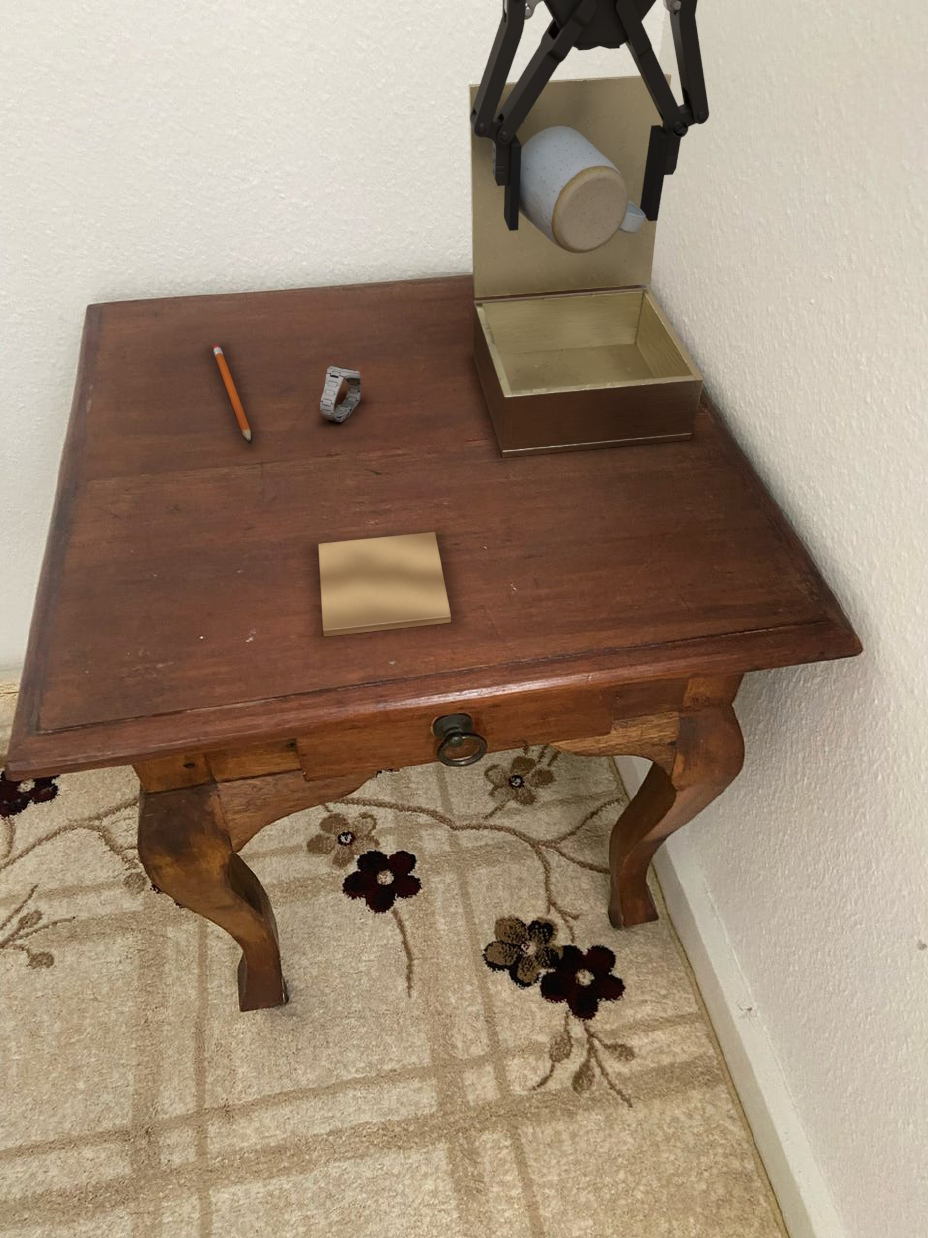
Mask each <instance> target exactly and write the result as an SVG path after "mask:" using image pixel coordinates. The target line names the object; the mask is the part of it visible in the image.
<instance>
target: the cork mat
mask: <svg viewBox="0 0 928 1238" xmlns="http://www.w3.org/2000/svg"><path fill="white" fill-rule="evenodd" d="M317 546H318V561H319V562H318V565H319V581H320V583H319V584H320V599H321V601H320V602H321V619H322V633H323V636H324V637H325V638H326V637H327V638H328V637H335V636H345V635H353V634H361V633H370V632H380V631H389V630H397V629H406V628H415V627H423V626H433V625H442V624H450V623H452V615H451V614H452V613H451V608H450V604H449V603H450V602H449V598H448V592H447V587H446V582H445V578H444V577H445V576H444V571H443V567H442V561H441V556H440V550H439V545H438V540H437V534H436V532H435V531H429V532H419V533H410V534H409V533H408V534H401V535H389V536H382V537H381V536H380V537H379V536H378V537H372V538H371V537H370V538H362V539H351V540H342V541H333V542H324V543H318V545H317Z"/></svg>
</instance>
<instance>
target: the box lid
mask: <svg viewBox="0 0 928 1238" xmlns="http://www.w3.org/2000/svg"><path fill="white" fill-rule="evenodd" d="M664 76H665V78H666V80H667V82H668V85H669V87H670V88H671V83H672V82H671V81H672V75H671V74H670V73H664ZM517 82H518V81H511V82H509V81H508V82H506V83H505V86H504V89H503V92H502V95H501V98H500V101H499V104H498V107H497V110H496V113H495V116H494V117H496V116H497V115H498V113H499V111H500V110H501V108H502V107H503V105H504V103H505V102H506V100H507V98H508V97H509V95H510V93H511V92H512V90H513V88H514V87H515V85H516V83H517ZM479 86H480V83H475V84H474V83H473V84H468V119H469V120H468V121H469V124H468V125H469V163H470V164H469V165H470V166H469V167H470V206H471V208H470V210H471V211H470V212H471V215H470V216H471V253H472V294H473V297H474V298H488V297H501V296H512V295H513V296H514V295H527V294H538V293H540V294H541V293H551V292H565V291H566V292H567V291H578V290H591V289H604V288H606V289H607V288H616V287H618V288H619V287H629V286H630V287H631V286H641V285H642V286H644V285H651V283H652V273H653V264H654V255H655V244H656V233H657V223H658V220H657V221H648V219H647V218H646V217H645V220H644V222H643V224H642V226H641V228H640V230H639V232H638V233H636V234H629V233H625V232H622V231H620V230H618V231H617V232H616V233H615V235H614V236H613V237H612V238H611V239H610V240H609V241H608V242H607V243H605V244H604V245H603V246H601V247H599V248H597V249H595V250H593V251H590V252H587V253H573V252H569V251H567V250H564V249H562V248H560V247H558V246H557V245H555V244H554V243H553V242H552V241H551V240H550V239H549V238H547V237H546V236H545V235H544V234H543V233H542V232H541V231H540V230H539V229H538V228H536V227H535V226H534V225H533V224H532V223H531V222H530V221H529V220H528V219H527V218H526V217H524V216H523V215H522V214H521V213H520V211H519V224H518V230H514V231H509V229H508V226H507V224H506V221H505V219H504V190H505V186H497V183H496V181H495V179H494V176H493V173H492V167H493V140H492V139H490V138H487V137H479V136H477V135H476V134H475V132H474V130H473V127H472V125H471V122H470V114H471V111H472V108H473V105H474V102H475V99H476V95H477V92H478V89H479ZM662 124H663V121H662V119H661V117H660V115H659V113H658V111H657V109H656V107H655V104H654V102H653V100H652V98H651V96H650V94H649V92H648V89H647V87H646V85H645V83H644V81H643V79H642V77H641V74H640V75H622V76H605V77H588V78H587V77H586V78H585V77H584V78H569V79H568V78H566V79H549V81H548V83H547V84H546V86H545V87H544V89H543V91H542V92H541V94H540V95H539V97H538V99H537V100H536V102H535V103H534V105H533V107H532V108H531V110H530V111H529V113H528V115H527V116H526V118H525V119H524V121H523V123H522V124H521V126H520V128H519V129H518V131H517V132H516V136H517V138H518V140H519V142H520V144H521V146H522V148H523V146H524V145H525V144H526V143H527V142H528V141H529V140H530V139H531V138H532V137H533V136H534V135H536V134H537V133H538V132H540V131H542V130H544V129H547V128H550V127H554V126H566V127H570V128H572V129H574V130H576V131H578V132H579V133H580V134H581V135H583V136H584V137H585V138H586V139H587V140H588V141H589V142H590V143H591V144H592V145H593V146H594V147H595V148H596V149H597V150H598V151H599V152H600V153H601V154H603V155H604V156H605V157H606V158H607V159H608V160H609V161H611V162H612V163H613V164H614V166H615V167H616V168H617V169H618V171H619V172H620V173H621V175H622V177H623V179H624V181H625V183H626V186H627V190H628V200H629V201H631V202H632V203H633V204H635V205H636V206H637V207H638V208H640V204H641V196H642V189H643V182H644V175H645V167H646V160H647V153H648V145H649V138H650V131H651V125H661V126H662ZM522 148H521V150H522Z"/></svg>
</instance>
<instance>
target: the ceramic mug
mask: <svg viewBox="0 0 928 1238" xmlns="http://www.w3.org/2000/svg"><path fill="white" fill-rule="evenodd" d="M519 211H520V213H521V214H522V215H523V216H524V217H526V218H527V219H528V220H529V221H530V222H531V223H532V224H533V225H534V226H535V227H536V228H538V229H539V230H540V231H541V232H542V233H543V234H544V235H545V236H546V237H547V238H549V239H550V240H551V241H552V242H553V243H554V244H555V245H557V246H558V247H560V248H562V249H564V250H567V251H569V252H573V253H587V252H590V251H593V250H595V249H597V248H599V247H601V246H603V245H604V244H605V243H607V242H608V241H609V240H610V239H611V238H612V237H613V236H614V235H615V233H616V232H617V231H618V230H620V231H622V232H625V233H629V234H636V233H638V232H639V230H640V228H641V226H642V224H643V222H644V220H645V217H646V215H645V214H644V212H643V211H642V210H641V209H640V208H638V207H637V206H636V205H635V204H633V203H632V202H631V201H629V200H628V190H627V186H626V183H625V181H624V179H623V177H622V175H621V173H620V172H619V171H618V169H617V168H616V167H615V166H614V164H613V163H612V162H611V161H609V160H608V159H607V158H606V157H605V156H604V155H603V154H601V153H600V152H599V151H598V150H597V149H596V148H595V147H594V146H593V145H592V144H591V143H590V142H589V141H588V140H587V139H586V138H585V137H584V136H583V135H581V134H580V133H579V132H578V131H576V130H574V129H572V128H570V127H566V126H554V127H550V128H547V129H544V130H542V131H540V132H538V133H537V134H536V135H534V136H533V137H532V138H531V139H530V140H529V141H528V142H527V143H526V144H525V145H524V146H523V148H522V150H521V173H520V198H519Z"/></svg>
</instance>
